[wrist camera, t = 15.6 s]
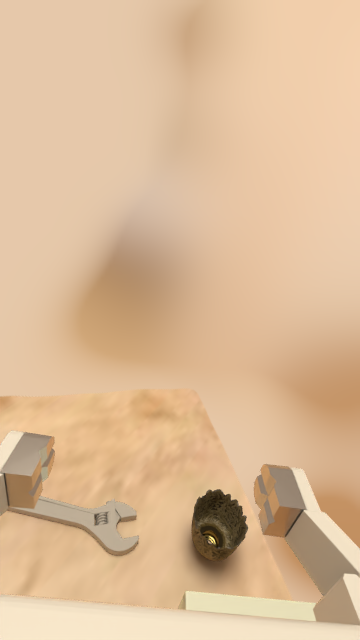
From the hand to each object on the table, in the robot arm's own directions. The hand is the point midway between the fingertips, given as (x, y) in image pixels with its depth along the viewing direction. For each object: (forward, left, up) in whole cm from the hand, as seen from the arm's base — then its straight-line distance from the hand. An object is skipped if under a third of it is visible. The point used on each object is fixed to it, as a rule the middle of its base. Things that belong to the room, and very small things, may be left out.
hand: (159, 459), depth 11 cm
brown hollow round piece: (+12, +15, -38) cm, 43 cm away
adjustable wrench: (-10, +18, -39) cm, 44 cm away
